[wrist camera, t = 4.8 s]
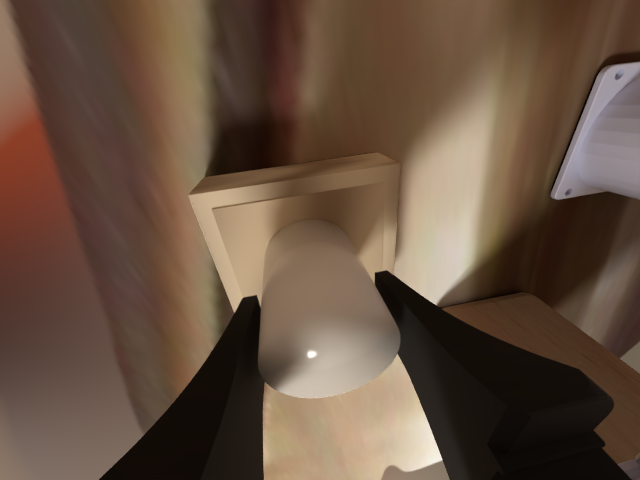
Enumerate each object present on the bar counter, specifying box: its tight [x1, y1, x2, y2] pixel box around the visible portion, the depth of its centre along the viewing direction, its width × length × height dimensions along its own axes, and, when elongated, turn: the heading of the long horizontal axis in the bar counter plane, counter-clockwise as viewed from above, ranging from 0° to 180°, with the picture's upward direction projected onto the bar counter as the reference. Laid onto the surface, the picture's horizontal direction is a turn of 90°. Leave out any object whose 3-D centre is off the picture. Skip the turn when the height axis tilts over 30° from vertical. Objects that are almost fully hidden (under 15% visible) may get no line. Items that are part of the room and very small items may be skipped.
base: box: [188, 152, 401, 313], centre depth 15 cm, size 10×10×3 cm
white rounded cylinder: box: [258, 219, 400, 398], centre depth 11 cm, size 5×5×6 cm
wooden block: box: [441, 292, 640, 464], centre depth 16 cm, size 10×10×20 cm
